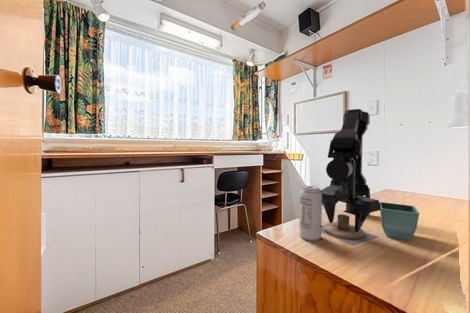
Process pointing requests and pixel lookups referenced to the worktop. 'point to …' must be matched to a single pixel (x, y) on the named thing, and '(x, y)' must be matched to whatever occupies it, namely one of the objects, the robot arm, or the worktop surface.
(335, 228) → the lid
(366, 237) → the mat
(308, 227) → the energy drink can
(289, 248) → the worktop surface
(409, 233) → the flower pot
